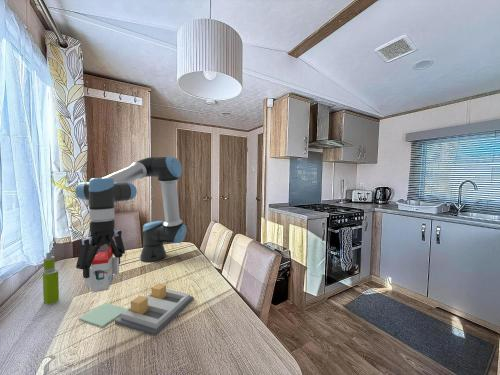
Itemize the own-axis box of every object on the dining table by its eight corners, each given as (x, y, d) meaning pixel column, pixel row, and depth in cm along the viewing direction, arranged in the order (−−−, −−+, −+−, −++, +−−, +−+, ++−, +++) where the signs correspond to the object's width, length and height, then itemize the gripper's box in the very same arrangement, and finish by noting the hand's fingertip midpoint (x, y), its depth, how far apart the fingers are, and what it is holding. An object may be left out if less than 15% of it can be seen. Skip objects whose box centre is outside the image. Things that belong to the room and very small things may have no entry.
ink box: (98, 282, 81) (97, 244, 80) (113, 279, 83) (113, 243, 82) (91, 293, 73) (91, 252, 72) (108, 290, 75) (108, 250, 74)
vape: (53, 296, 90) (52, 251, 89) (60, 300, 87) (58, 253, 86) (42, 301, 87) (40, 253, 86) (48, 305, 84) (46, 256, 83)
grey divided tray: (159, 291, 95) (159, 284, 95) (193, 299, 89) (193, 292, 89) (114, 323, 74) (114, 314, 74) (155, 336, 68) (155, 326, 68)
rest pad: (105, 304, 85) (105, 302, 85) (127, 310, 81) (127, 308, 81) (78, 319, 76) (78, 318, 76) (102, 327, 72) (102, 326, 72)
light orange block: (139, 308, 81) (139, 295, 80) (147, 310, 79) (147, 297, 79) (130, 314, 77) (130, 301, 77) (139, 316, 76) (139, 303, 75)
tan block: (158, 294, 90) (158, 283, 90) (166, 296, 89) (166, 284, 89) (151, 299, 86) (151, 287, 86) (159, 301, 85) (159, 289, 85)
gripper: (121, 214, 88) (122, 266, 89) (60, 225, 68) (62, 292, 69) (135, 215, 86) (135, 268, 87) (76, 227, 65) (77, 297, 66)
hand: (103, 279), depth 78 cm, fingers closed on ink box, 9 cm apart
